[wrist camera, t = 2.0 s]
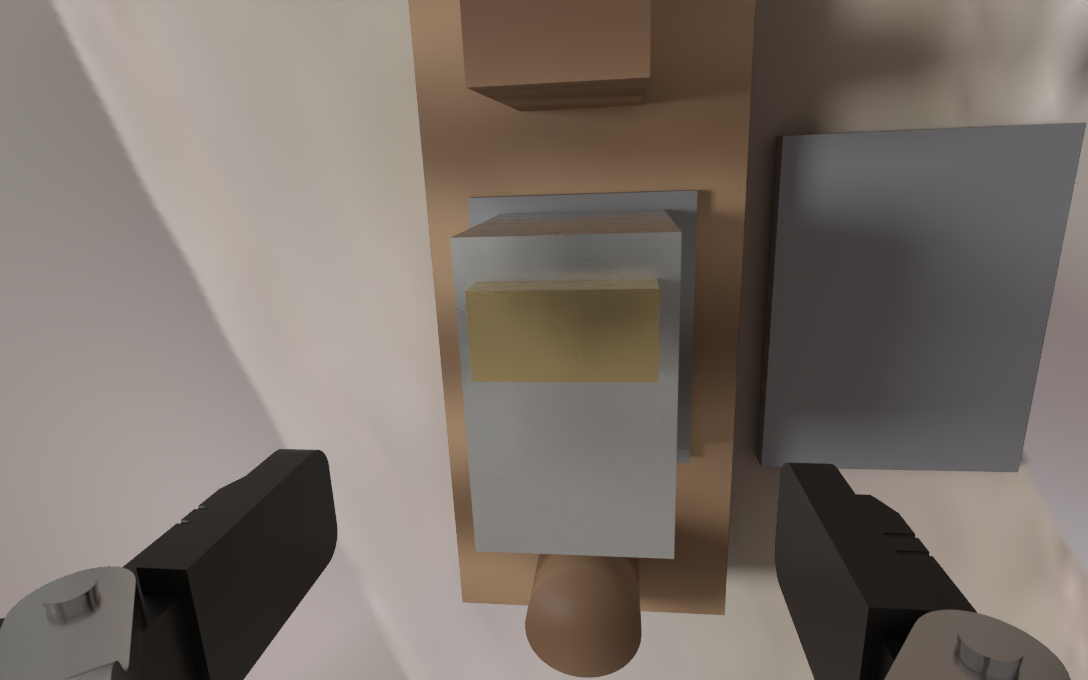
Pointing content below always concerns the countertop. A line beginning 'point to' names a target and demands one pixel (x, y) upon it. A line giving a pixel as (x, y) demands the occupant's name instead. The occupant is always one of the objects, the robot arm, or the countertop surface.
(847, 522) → the robot arm
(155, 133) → the countertop surface
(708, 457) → the plane body
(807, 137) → the rubber mat
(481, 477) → the grey labelled box
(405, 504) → the countertop surface
